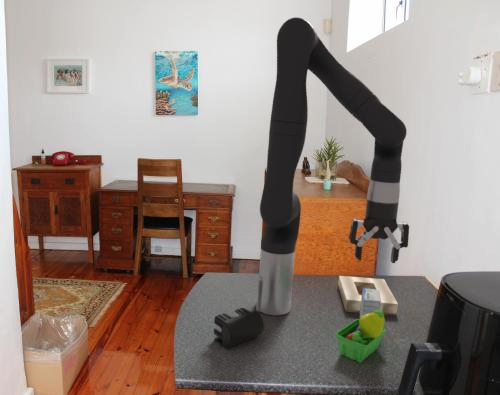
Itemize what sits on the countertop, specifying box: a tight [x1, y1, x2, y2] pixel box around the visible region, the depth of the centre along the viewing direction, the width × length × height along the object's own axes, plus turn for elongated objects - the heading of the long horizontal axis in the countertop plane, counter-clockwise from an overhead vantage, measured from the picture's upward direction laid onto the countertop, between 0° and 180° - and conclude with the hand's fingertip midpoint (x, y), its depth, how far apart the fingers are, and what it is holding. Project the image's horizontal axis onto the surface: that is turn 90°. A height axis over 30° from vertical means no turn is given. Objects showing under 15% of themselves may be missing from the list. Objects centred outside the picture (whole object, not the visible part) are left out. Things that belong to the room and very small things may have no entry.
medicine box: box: [359, 288, 381, 319], centre depth 119 cm, size 8×4×9 cm, turn 168°
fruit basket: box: [335, 310, 387, 363], centre depth 105 cm, size 11×9×11 cm
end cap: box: [213, 307, 265, 349], centre depth 107 cm, size 10×7×7 cm
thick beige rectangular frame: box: [337, 275, 399, 317], centre depth 135 cm, size 14×18×4 cm
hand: (375, 260), depth 116 cm, fingers open, 8 cm apart
